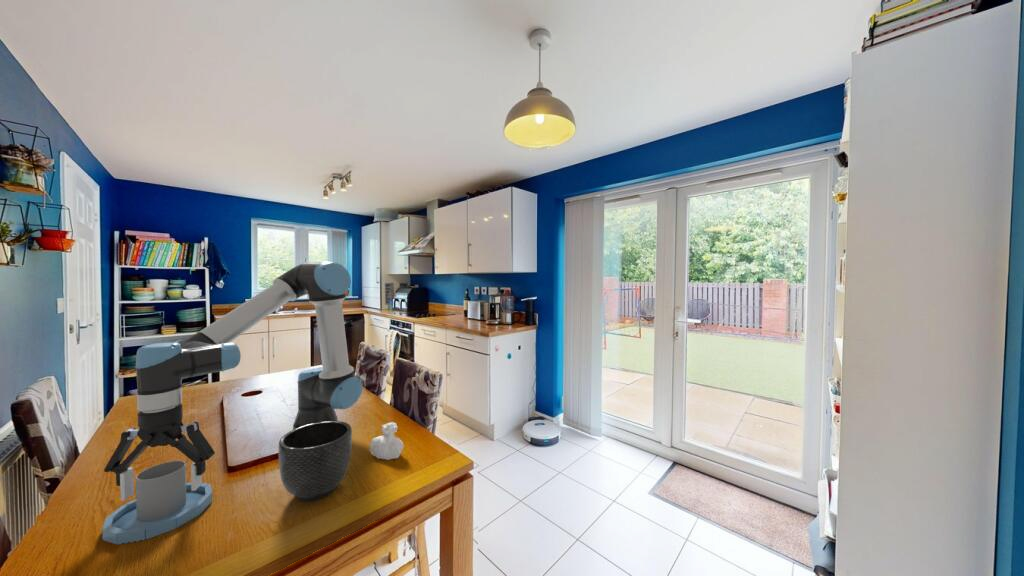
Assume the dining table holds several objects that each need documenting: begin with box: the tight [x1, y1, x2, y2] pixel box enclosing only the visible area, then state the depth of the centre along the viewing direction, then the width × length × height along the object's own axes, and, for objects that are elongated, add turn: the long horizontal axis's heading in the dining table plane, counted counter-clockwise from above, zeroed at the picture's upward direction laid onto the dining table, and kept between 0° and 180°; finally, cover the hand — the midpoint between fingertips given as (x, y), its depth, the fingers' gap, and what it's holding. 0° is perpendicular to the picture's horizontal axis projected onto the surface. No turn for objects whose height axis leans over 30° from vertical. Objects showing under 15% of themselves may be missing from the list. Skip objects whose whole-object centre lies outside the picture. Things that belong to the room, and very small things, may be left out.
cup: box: [135, 460, 187, 522], centre depth 81 cm, size 8×8×10 cm
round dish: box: [101, 481, 213, 545], centre depth 81 cm, size 18×18×2 cm
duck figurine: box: [369, 421, 404, 461], centre depth 110 cm, size 12×8×11 cm
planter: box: [278, 420, 353, 503], centre depth 90 cm, size 17×17×16 cm
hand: (163, 492), depth 81 cm, fingers open, 13 cm apart
